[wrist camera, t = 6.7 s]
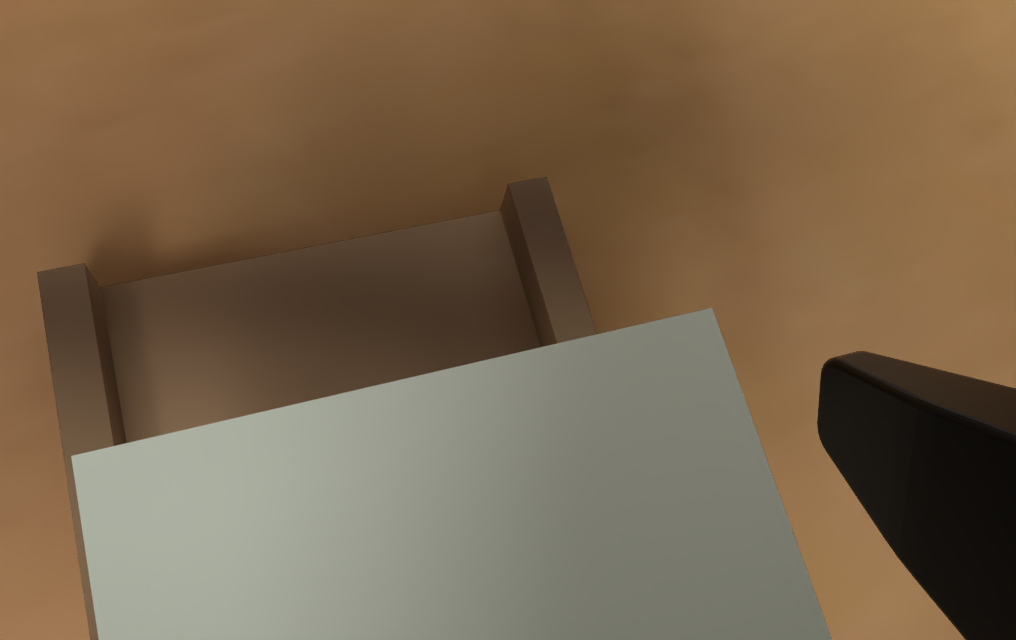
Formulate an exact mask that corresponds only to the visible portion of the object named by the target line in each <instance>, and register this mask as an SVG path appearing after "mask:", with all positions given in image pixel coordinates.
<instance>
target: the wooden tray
mask: <svg viewBox="0 0 1016 640" xmlns="http://www.w3.org/2000/svg"><path fill="white" fill-rule="evenodd" d="M37 275H38V282H39V289H40V296H41V303H42V310H43V316H44V323H45V330H46V337H47V344H48V351H49V358H50V365H51V372H52V379H53V385H54V392H55V399H56V406H57V413H58V420H59V427H60V434H61V441H62V447H63V454H64V461H65V468H66V475H67V482H68V489H69V496H70V503H71V509H72V516H73V523H74V530H75V537H76V544H77V551H78V558H79V565H80V571H81V578H82V585H83V592H84V599H85V606H86V613H87V620H88V627H89V633H90V640H99V639H98V632H97V625H96V619H95V612H94V605H93V599H92V592H91V585H90V579H89V572H88V565H87V559H86V552H85V545H84V539H83V532H82V525H81V518H80V512H79V505H78V498H77V492H76V485H75V478H74V472H73V465H72V458H71V456H73V455H78V454H82V453H86V452H91V451H95V450H99V449H104V448H108V447H112V446H117V445H121V444H125V443H130V442H134V441H138V440H142V439H147V438H151V437H155V436H160V435H164V434H168V433H173V432H177V431H181V430H186V429H190V428H194V427H199V426H203V425H207V424H212V423H216V422H220V421H225V420H229V419H233V418H238V417H242V416H246V415H251V414H255V413H259V412H263V411H268V410H272V409H276V408H281V407H285V406H289V405H294V404H298V403H302V402H307V401H311V400H315V399H320V398H324V397H328V396H333V395H337V394H341V393H346V392H350V391H354V390H359V389H363V388H367V387H371V386H376V385H380V384H384V383H389V382H393V381H397V380H402V379H406V378H410V377H415V376H419V375H423V374H428V373H432V372H436V371H441V370H445V369H449V368H454V367H458V366H462V365H467V364H471V363H475V362H479V361H484V360H488V359H492V358H497V357H501V356H505V355H510V354H514V353H518V352H523V351H527V350H531V349H536V348H540V347H544V346H549V345H553V344H557V343H562V342H566V341H570V340H575V339H579V338H583V337H587V336H592V335H596V334H597V333H596V330H595V327H594V324H593V321H592V318H591V314H590V311H589V308H588V305H587V302H586V299H585V296H584V293H583V289H582V286H581V283H580V280H579V277H578V274H577V271H576V268H575V264H574V261H573V258H572V255H571V252H570V249H569V246H568V243H567V239H566V236H565V233H564V230H563V227H562V224H561V221H560V217H559V214H558V211H557V208H556V205H555V202H554V199H553V196H552V192H551V189H550V186H549V183H548V180H547V177H542V178H537V179H532V180H526V181H521V182H516V183H510V184H508V187H507V190H506V193H505V196H504V199H503V202H502V205H501V209H500V210H498V211H493V212H488V213H483V214H478V215H473V216H467V217H462V218H457V219H452V220H447V221H442V222H436V223H431V224H426V225H421V226H416V227H411V228H405V229H400V230H395V231H390V232H385V233H380V234H374V235H369V236H364V237H359V238H354V239H349V240H343V241H338V242H333V243H328V244H323V245H318V246H312V247H307V248H302V249H297V250H292V251H287V252H281V253H276V254H271V255H266V256H261V257H256V258H250V259H245V260H240V261H235V262H230V263H225V264H219V265H214V266H209V267H204V268H199V269H193V270H188V271H183V272H178V273H173V274H168V275H162V276H157V277H152V278H147V279H142V280H137V281H131V282H126V283H121V284H116V285H111V286H106V287H100V285H99V284H98V282H97V281H96V280H95V278H94V277H93V275H92V274H91V272H90V271H89V269H88V268H87V266H86V265H85V264H84V263H83V264H78V265H73V266H67V267H62V268H57V269H51V270H46V271H41V272H37Z"/></svg>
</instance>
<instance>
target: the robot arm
mask: <svg viewBox="0 0 1016 640" xmlns="http://www.w3.org/2000/svg"><path fill="white" fill-rule="evenodd" d="M817 424H818V433H819V437H820V440H821V442H822V445H823V447H824V448H825V450H826V452H827V453H828V455H829V456H830V458H831V459H832V461H833V462H834V464H835V465H836V467H837V468H838V470H839V471H840V473H841V474H842V476H843V477H844V479H845V480H846V481H847V483H848V484H849V486H850V487H851V489H852V490H853V492H854V493H855V495H856V496H857V498H858V499H859V501H860V502H861V504H862V505H863V507H864V508H865V510H866V511H867V513H868V514H869V516H870V517H871V519H872V520H873V522H874V523H875V525H876V526H877V528H878V529H879V531H880V532H881V534H882V535H883V537H884V538H885V540H886V541H887V543H888V544H889V545H890V547H891V548H892V550H893V551H894V552H895V554H896V555H897V557H898V558H899V559H900V560H901V562H902V563H903V564H904V566H905V567H906V568H907V569H908V571H909V572H910V573H911V574H912V576H913V577H914V578H915V579H916V581H917V582H918V583H919V584H920V585H921V587H922V588H923V589H924V590H925V591H926V593H927V594H928V595H929V596H930V597H931V599H932V600H933V601H934V602H935V603H936V605H937V606H938V607H939V608H940V609H941V611H942V612H943V613H944V614H945V615H946V617H947V618H948V619H949V620H950V621H951V623H952V624H953V625H954V626H955V627H956V629H957V630H958V631H959V632H960V634H961V635H962V636H963V637H964V638H965V640H1016V389H1015V388H1011V387H1007V386H1003V385H999V384H995V383H991V382H987V381H983V380H979V379H975V378H971V377H967V376H963V375H959V374H955V373H951V372H947V371H943V370H939V369H935V368H930V367H926V366H922V365H918V364H914V363H910V362H906V361H902V360H898V359H894V358H890V357H886V356H882V355H878V354H874V353H870V352H865V351H857V352H853V353H849V354H845V355H841V356H838V357H834V358H830V359H829V360H828V361H826V362H825V364H824V365H823V368H822V371H821V379H820V393H819V407H818V421H817Z"/></svg>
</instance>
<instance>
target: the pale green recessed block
mask: <svg viewBox="0 0 1016 640" xmlns="http://www.w3.org/2000/svg"><path fill="white" fill-rule="evenodd" d="M71 458H72V465H73V472H74V478H75V485H76V492H77V498H78V505H79V512H80V518H81V525H82V532H83V539H84V545H85V552H86V559H87V565H88V572H89V579H90V585H91V592H92V599H93V605H94V612H95V619H96V625H97V632H98V639H99V640H832V639H831V636H830V633H829V630H828V628H827V625H826V622H825V619H824V616H823V614H822V611H821V608H820V605H819V603H818V600H817V597H816V594H815V592H814V589H813V586H812V583H811V580H810V578H809V575H808V572H807V569H806V567H805V564H804V561H803V558H802V556H801V553H800V550H799V547H798V545H797V542H796V539H795V536H794V533H793V531H792V528H791V525H790V522H789V520H788V517H787V514H786V511H785V509H784V506H783V503H782V500H781V497H780V495H779V492H778V489H777V486H776V484H775V481H774V478H773V475H772V473H771V470H770V467H769V464H768V462H767V459H766V456H765V453H764V450H763V448H762V445H761V442H760V439H759V437H758V434H757V431H756V428H755V426H754V423H753V420H752V417H751V414H750V412H749V409H748V406H747V403H746V401H745V398H744V395H743V392H742V390H741V387H740V384H739V381H738V378H737V376H736V373H735V370H734V367H733V365H732V362H731V359H730V356H729V354H728V351H727V348H726V345H725V343H724V340H723V337H722V334H721V331H720V329H719V326H718V323H717V320H716V318H715V315H714V312H713V309H712V308H708V309H704V310H700V311H695V312H691V313H687V314H683V315H678V316H674V317H670V318H665V319H661V320H657V321H652V322H648V323H644V324H639V325H635V326H631V327H626V328H622V329H618V330H613V331H609V332H605V333H600V334H596V335H592V336H587V337H583V338H579V339H575V340H570V341H566V342H562V343H557V344H553V345H549V346H544V347H540V348H536V349H531V350H527V351H523V352H518V353H514V354H510V355H505V356H501V357H497V358H492V359H488V360H484V361H479V362H475V363H471V364H467V365H462V366H458V367H454V368H449V369H445V370H441V371H436V372H432V373H428V374H423V375H419V376H415V377H410V378H406V379H402V380H397V381H393V382H389V383H384V384H380V385H376V386H371V387H367V388H363V389H359V390H354V391H350V392H346V393H341V394H337V395H333V396H328V397H324V398H320V399H315V400H311V401H307V402H302V403H298V404H294V405H289V406H285V407H281V408H276V409H272V410H268V411H263V412H259V413H255V414H251V415H246V416H242V417H238V418H233V419H229V420H225V421H220V422H216V423H212V424H207V425H203V426H199V427H194V428H190V429H186V430H181V431H177V432H173V433H168V434H164V435H160V436H155V437H151V438H147V439H142V440H138V441H134V442H130V443H125V444H121V445H117V446H112V447H108V448H104V449H99V450H95V451H91V452H86V453H82V454H78V455H73V456H71Z"/></svg>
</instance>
